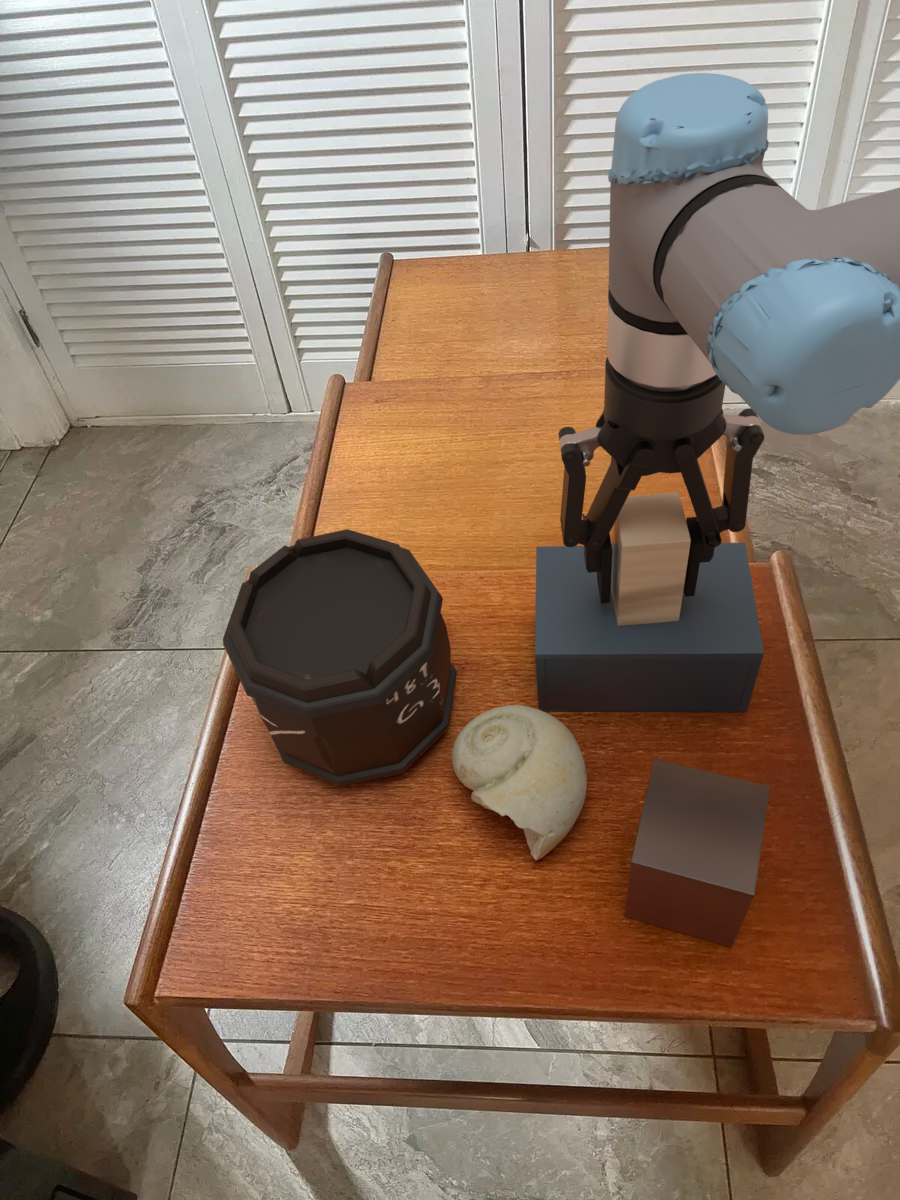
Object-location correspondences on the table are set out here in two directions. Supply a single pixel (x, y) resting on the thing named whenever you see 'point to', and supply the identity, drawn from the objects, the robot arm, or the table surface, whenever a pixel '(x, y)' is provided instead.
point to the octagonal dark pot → (344, 655)
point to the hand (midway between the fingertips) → (644, 586)
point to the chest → (646, 685)
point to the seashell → (524, 771)
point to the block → (649, 559)
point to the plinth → (697, 852)
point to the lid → (589, 629)
